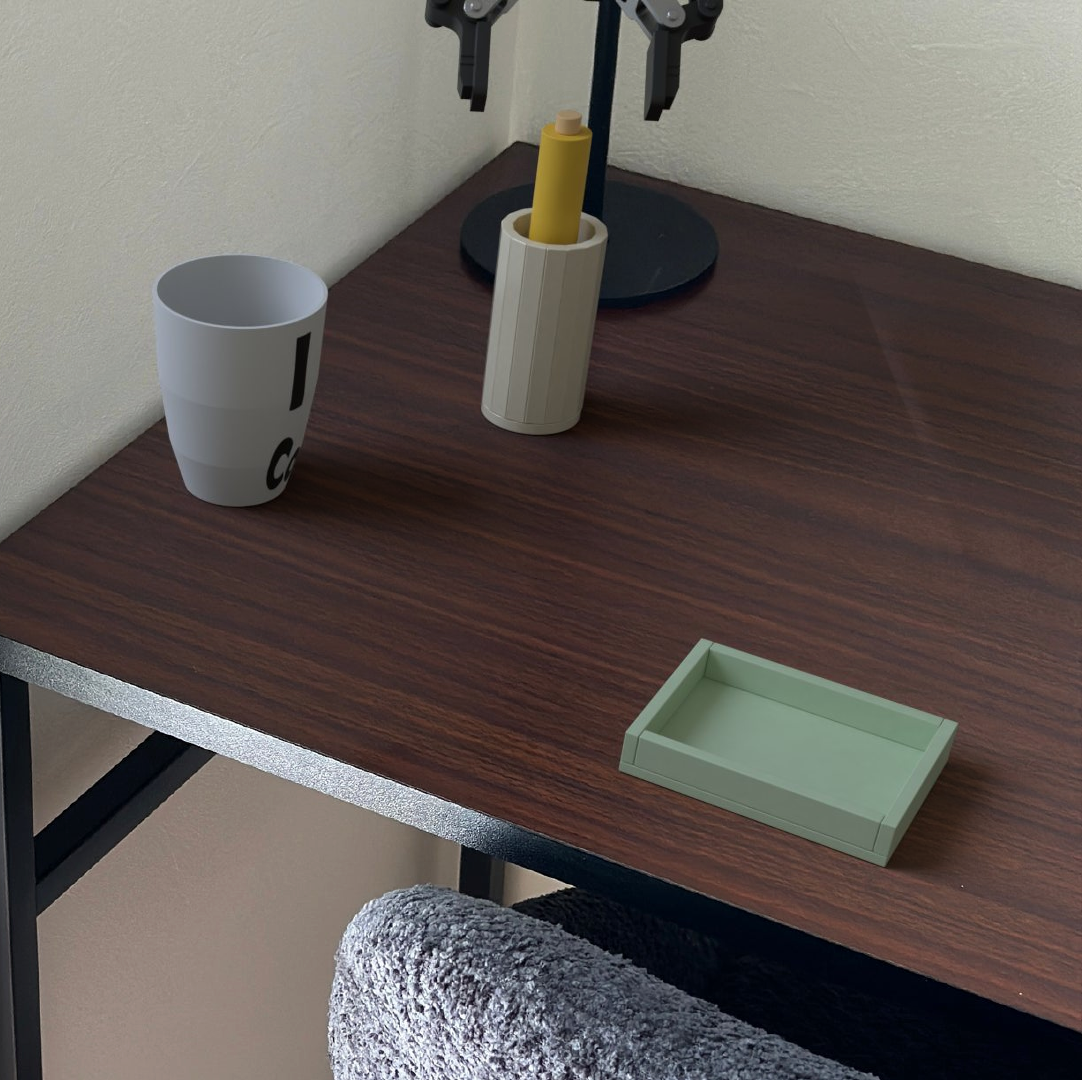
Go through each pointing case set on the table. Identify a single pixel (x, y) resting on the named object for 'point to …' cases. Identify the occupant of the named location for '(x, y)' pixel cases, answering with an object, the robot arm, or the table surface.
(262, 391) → the cup
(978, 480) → the table surface
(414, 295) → the table surface
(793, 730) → the tray
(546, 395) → the pencil holder
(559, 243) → the pencil
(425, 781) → the table surface
